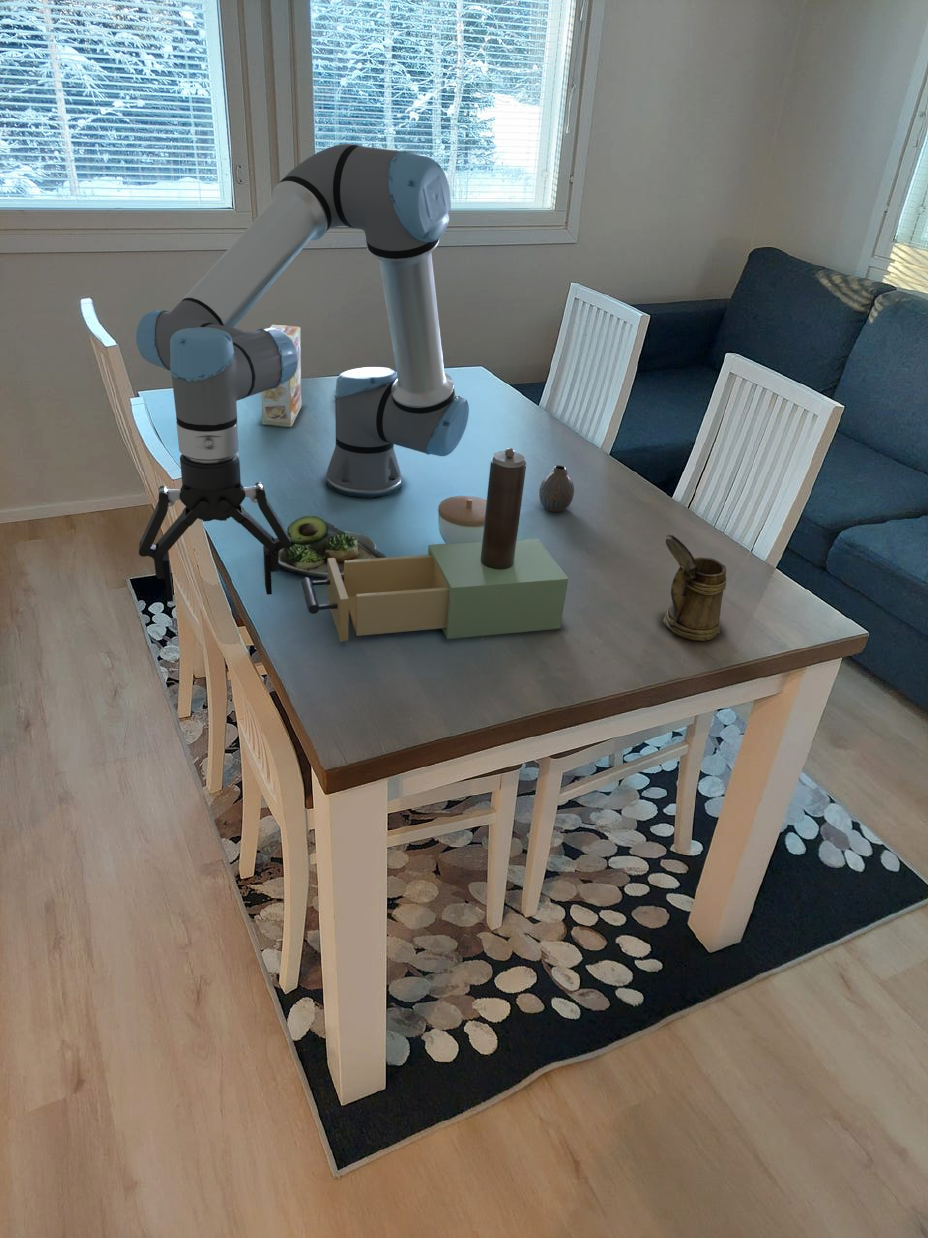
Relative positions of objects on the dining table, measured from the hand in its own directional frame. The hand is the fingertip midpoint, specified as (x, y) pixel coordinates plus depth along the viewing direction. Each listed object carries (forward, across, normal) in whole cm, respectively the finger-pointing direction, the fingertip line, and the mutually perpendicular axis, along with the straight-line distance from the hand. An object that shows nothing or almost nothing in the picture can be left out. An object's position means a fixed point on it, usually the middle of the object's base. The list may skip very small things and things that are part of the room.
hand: (220, 593), depth 124 cm
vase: (+7, +67, +36) cm, 76 cm away
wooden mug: (+7, +71, -10) cm, 72 cm away
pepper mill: (-2, +42, 0) cm, 42 cm away
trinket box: (+7, +44, +22) cm, 50 cm away
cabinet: (+7, +42, 0) cm, 42 cm away
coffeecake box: (+7, +19, +93) cm, 95 cm away
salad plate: (+7, +18, +22) cm, 29 cm away
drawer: (+6, +23, 0) cm, 24 cm away
